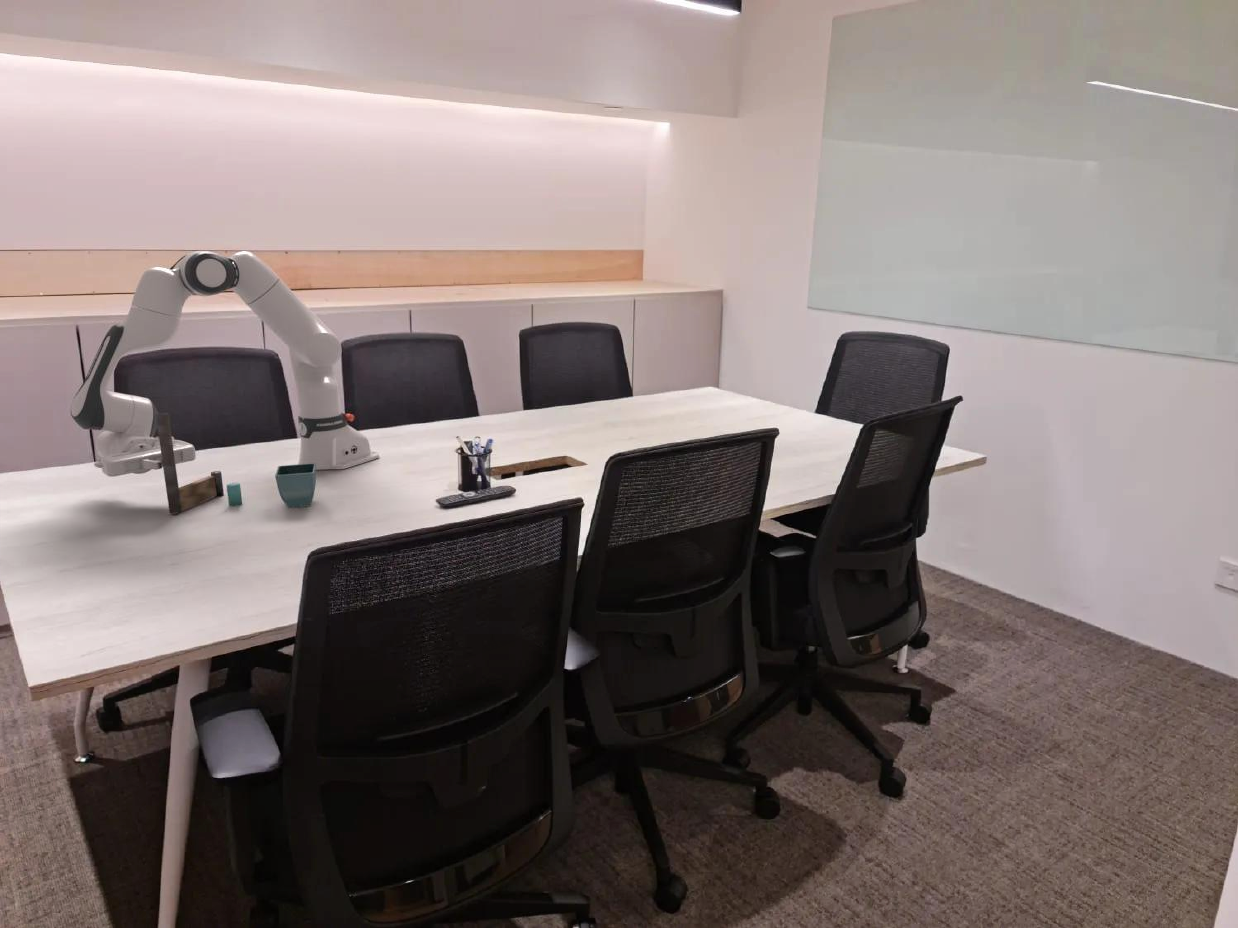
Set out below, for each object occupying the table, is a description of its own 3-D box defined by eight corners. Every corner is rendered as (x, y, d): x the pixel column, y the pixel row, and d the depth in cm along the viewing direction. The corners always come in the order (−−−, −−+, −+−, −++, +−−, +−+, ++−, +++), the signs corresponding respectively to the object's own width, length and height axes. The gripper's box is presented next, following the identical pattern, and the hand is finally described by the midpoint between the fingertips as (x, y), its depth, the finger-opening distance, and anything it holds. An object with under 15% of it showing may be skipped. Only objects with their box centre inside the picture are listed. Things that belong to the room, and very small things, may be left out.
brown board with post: (209, 494, 222) (197, 402, 215) (218, 495, 221) (207, 403, 215) (167, 513, 208) (153, 414, 202) (176, 514, 207) (162, 415, 201)
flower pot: (278, 511, 211) (274, 475, 209) (281, 500, 219) (278, 465, 217) (317, 508, 213) (314, 472, 211) (319, 497, 221) (315, 462, 219)
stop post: (238, 501, 218) (236, 482, 217) (244, 504, 216) (242, 484, 215) (226, 504, 216) (224, 484, 214) (232, 507, 214) (230, 487, 213)
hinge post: (221, 493, 225) (218, 470, 223) (225, 495, 223) (222, 472, 222) (211, 495, 223) (208, 472, 221) (216, 497, 221) (213, 474, 220)
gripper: (88, 450, 206) (114, 460, 198) (177, 434, 221) (204, 443, 213) (93, 476, 208) (118, 487, 199) (181, 459, 223) (207, 468, 214)
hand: (163, 464), depth 206 cm, fingers closed
